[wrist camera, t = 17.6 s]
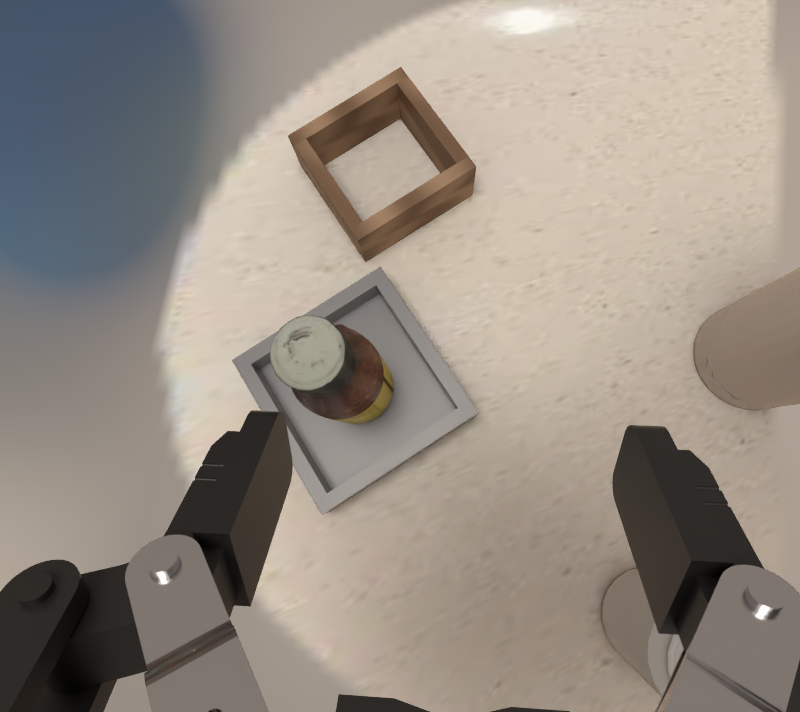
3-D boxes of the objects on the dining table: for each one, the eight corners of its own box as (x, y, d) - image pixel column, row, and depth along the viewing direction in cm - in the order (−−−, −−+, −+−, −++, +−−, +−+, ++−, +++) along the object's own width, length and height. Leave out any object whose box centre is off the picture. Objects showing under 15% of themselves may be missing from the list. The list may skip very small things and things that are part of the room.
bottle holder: (404, 103, 54) (400, 67, 49) (472, 194, 51) (476, 166, 47) (301, 166, 53) (287, 135, 48) (365, 261, 51) (358, 240, 46)
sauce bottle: (331, 350, 48) (261, 274, 29) (400, 360, 48) (376, 289, 28) (318, 423, 47) (235, 395, 28) (389, 434, 47) (355, 413, 27)
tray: (384, 280, 50) (380, 266, 47) (475, 416, 47) (478, 412, 44) (245, 367, 50) (231, 360, 46) (329, 511, 47) (321, 514, 43)
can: (624, 680, 43) (695, 762, 31) (582, 585, 44) (636, 628, 32) (712, 644, 43) (816, 712, 31) (667, 550, 44) (751, 581, 33)
